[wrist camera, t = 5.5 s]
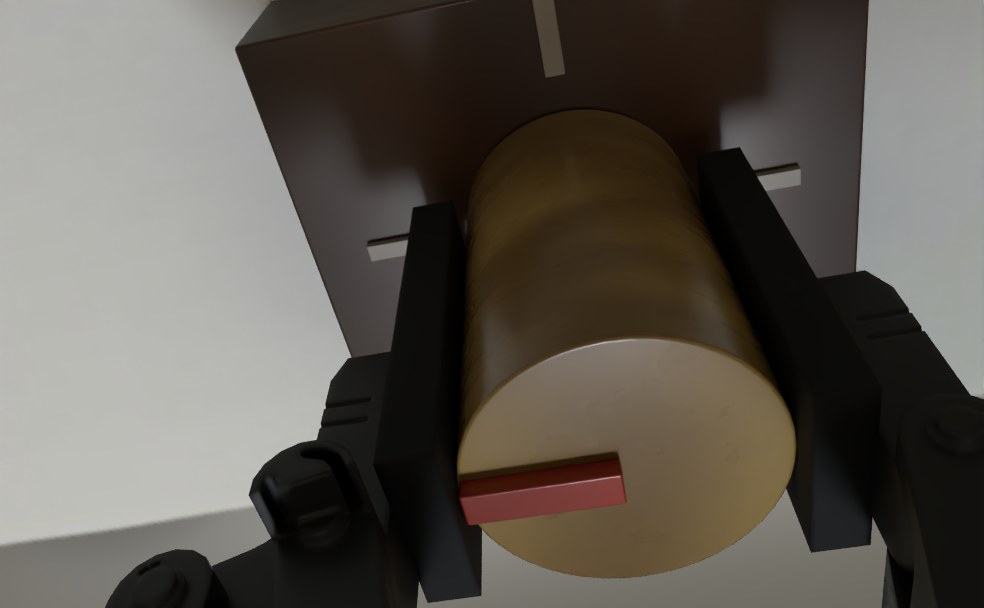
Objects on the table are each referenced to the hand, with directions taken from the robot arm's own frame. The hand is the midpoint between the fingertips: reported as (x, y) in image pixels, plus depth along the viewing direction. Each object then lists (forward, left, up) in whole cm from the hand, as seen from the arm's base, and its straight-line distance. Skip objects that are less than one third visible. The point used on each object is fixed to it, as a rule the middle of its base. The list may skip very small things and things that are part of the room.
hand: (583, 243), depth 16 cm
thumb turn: (0, 0, -1) cm, 1 cm away
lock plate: (0, 0, -4) cm, 4 cm away
